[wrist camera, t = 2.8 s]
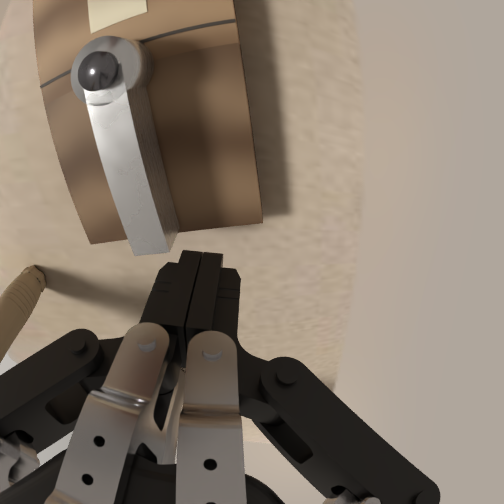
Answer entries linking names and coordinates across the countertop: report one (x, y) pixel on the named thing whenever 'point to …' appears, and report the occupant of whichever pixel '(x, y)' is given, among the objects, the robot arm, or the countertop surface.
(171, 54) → the board
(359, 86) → the countertop surface
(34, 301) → the handle
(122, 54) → the latch bar
